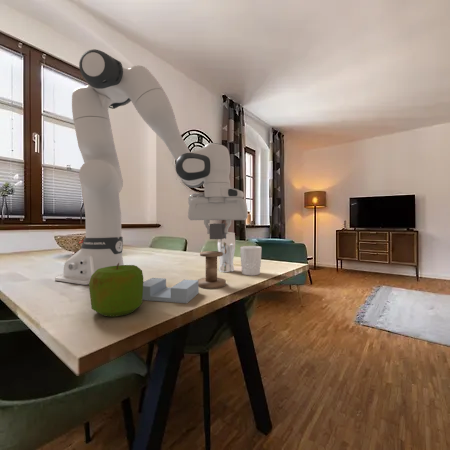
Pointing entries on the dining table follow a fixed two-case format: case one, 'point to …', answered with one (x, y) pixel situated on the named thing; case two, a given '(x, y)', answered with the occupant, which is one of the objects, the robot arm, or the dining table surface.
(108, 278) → the apple
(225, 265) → the beer glass
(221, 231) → the tab
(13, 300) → the dining table surface
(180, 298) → the notch board
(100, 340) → the dining table surface
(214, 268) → the bobbin
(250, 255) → the white cup
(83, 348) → the dining table surface
